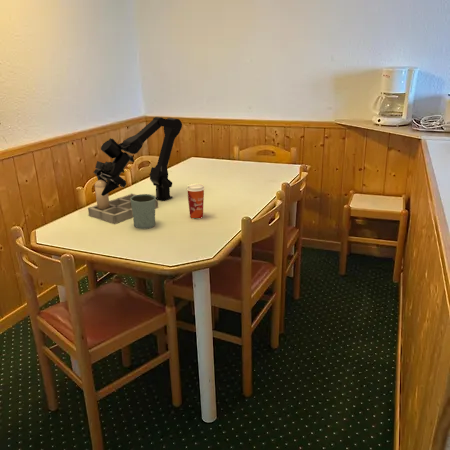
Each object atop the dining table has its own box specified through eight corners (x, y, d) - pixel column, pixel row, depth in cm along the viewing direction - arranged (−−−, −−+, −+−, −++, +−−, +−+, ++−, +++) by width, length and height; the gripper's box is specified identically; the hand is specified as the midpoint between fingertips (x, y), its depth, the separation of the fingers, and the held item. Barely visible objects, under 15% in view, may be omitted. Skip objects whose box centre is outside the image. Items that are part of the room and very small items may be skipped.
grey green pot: (135, 220, 187) (133, 193, 183) (159, 220, 187) (157, 193, 182) (130, 229, 178) (127, 201, 173) (155, 229, 177) (153, 201, 173)
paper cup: (191, 221, 186) (190, 189, 181) (185, 215, 192) (183, 184, 187) (208, 217, 189) (207, 186, 184) (201, 212, 196) (200, 182, 191)
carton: (158, 207, 202) (157, 200, 201) (114, 224, 184) (113, 215, 182) (132, 200, 212) (131, 193, 211) (88, 215, 194) (87, 207, 192)
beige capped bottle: (111, 206, 195) (108, 178, 190) (106, 209, 190) (102, 182, 186) (101, 205, 196) (97, 178, 192) (95, 209, 191) (91, 181, 187)
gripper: (94, 150, 193) (74, 179, 190) (117, 157, 181) (96, 188, 178) (112, 164, 201) (93, 193, 198) (135, 172, 189) (115, 202, 186)
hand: (99, 193), depth 190 cm, fingers closed on beige capped bottle, 5 cm apart
